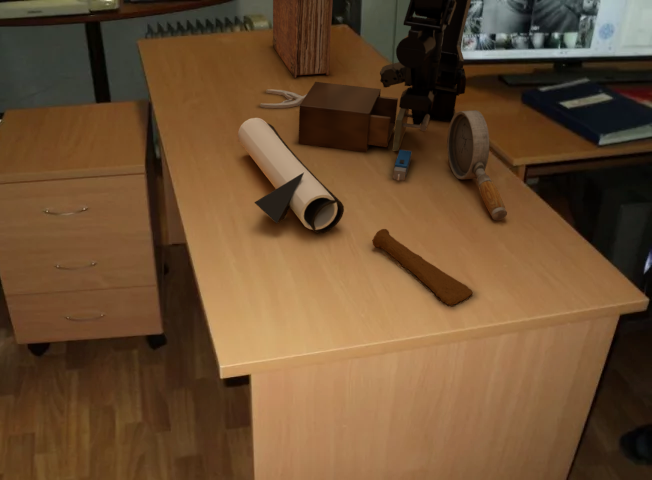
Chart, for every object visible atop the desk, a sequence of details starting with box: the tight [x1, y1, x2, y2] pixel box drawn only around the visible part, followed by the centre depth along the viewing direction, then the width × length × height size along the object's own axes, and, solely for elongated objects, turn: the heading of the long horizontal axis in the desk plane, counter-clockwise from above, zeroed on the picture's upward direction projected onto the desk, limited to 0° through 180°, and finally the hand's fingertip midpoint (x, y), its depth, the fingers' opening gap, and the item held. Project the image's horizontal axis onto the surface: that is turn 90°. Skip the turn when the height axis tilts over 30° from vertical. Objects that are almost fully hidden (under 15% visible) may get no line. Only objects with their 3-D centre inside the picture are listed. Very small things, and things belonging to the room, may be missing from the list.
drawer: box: [368, 95, 431, 152], centre depth 155 cm, size 18×13×7 cm
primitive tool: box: [371, 228, 474, 306], centre depth 116 cm, size 19×6×4 cm, turn 39°
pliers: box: [259, 88, 307, 109], centre depth 174 cm, size 10×2×15 cm
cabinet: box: [298, 81, 382, 153], centre depth 157 cm, size 15×14×9 cm
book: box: [272, 0, 333, 79], centre depth 188 cm, size 25×9×30 cm, turn 13°
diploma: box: [237, 117, 345, 234], centre depth 135 cm, size 35×9×14 cm
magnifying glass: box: [446, 109, 508, 221], centre depth 137 cm, size 13×3×25 cm
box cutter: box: [392, 149, 413, 182], centre depth 145 cm, size 10×2×3 cm, turn 164°
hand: (416, 126), depth 153 cm, fingers closed, pressing on drawer
